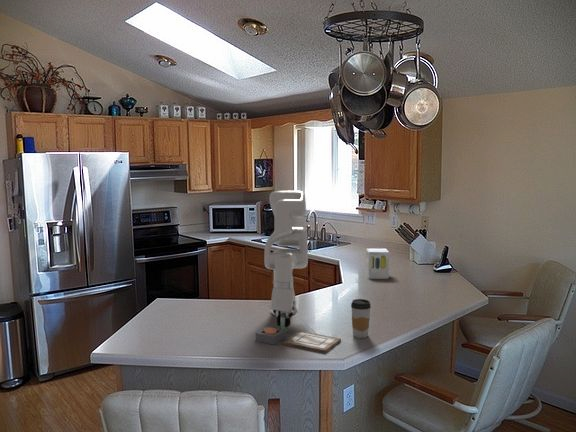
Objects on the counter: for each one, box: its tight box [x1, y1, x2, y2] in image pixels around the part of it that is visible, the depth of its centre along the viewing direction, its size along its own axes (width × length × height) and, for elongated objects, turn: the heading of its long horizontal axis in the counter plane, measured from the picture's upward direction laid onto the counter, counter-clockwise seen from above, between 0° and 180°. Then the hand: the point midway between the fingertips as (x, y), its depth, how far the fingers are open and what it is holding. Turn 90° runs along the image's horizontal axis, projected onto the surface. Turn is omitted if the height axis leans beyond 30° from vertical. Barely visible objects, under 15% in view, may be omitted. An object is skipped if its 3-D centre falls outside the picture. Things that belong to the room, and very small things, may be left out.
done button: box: [264, 327, 276, 335], centre depth 206 cm, size 5×5×2 cm
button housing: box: [255, 326, 286, 345], centre depth 206 cm, size 9×9×3 cm
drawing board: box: [282, 330, 342, 354], centre depth 203 cm, size 15×19×1 cm
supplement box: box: [365, 247, 390, 280], centre depth 320 cm, size 13×13×18 cm
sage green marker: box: [279, 313, 288, 334], centre depth 216 cm, size 3×3×8 cm
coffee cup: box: [350, 298, 371, 339], centre depth 210 cm, size 8×8×15 cm
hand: (283, 325), depth 216 cm, fingers open, 3 cm apart
